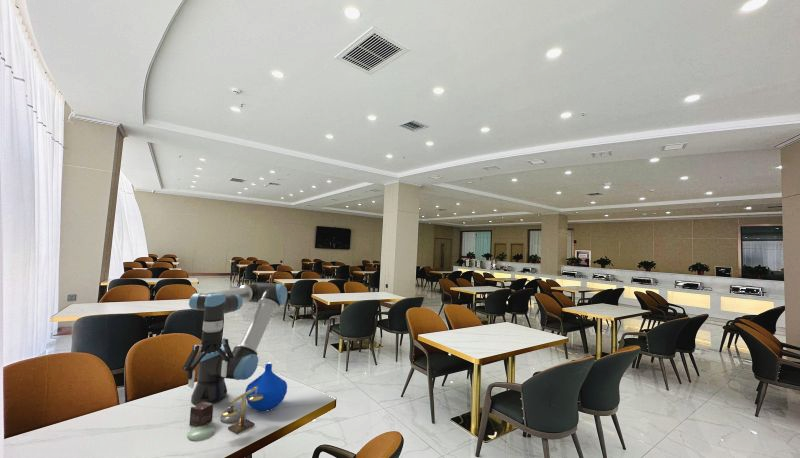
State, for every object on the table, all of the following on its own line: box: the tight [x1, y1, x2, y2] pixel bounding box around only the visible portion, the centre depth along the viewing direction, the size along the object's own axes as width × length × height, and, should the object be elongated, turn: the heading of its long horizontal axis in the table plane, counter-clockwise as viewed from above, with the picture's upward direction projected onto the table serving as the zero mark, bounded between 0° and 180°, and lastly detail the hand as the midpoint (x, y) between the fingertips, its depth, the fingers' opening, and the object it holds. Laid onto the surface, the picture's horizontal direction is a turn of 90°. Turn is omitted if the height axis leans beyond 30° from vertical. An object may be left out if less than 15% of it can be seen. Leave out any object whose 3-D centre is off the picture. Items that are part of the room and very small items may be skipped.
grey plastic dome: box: [219, 410, 241, 425], centre depth 139 cm, size 9×9×1 cm
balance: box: [221, 386, 263, 435], centre depth 133 cm, size 6×17×15 cm, turn 148°
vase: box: [244, 363, 288, 412], centre depth 152 cm, size 18×18×19 cm
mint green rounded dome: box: [186, 424, 215, 441], centre depth 127 cm, size 9×9×1 cm
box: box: [188, 401, 215, 428], centre depth 134 cm, size 6×6×7 cm
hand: (207, 381), depth 136 cm, fingers open, 13 cm apart
